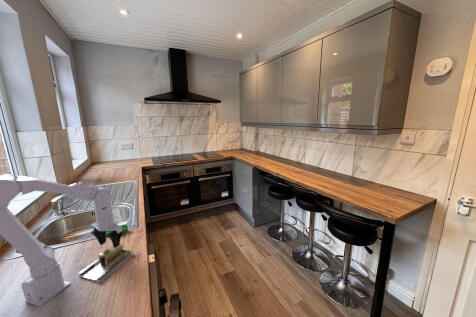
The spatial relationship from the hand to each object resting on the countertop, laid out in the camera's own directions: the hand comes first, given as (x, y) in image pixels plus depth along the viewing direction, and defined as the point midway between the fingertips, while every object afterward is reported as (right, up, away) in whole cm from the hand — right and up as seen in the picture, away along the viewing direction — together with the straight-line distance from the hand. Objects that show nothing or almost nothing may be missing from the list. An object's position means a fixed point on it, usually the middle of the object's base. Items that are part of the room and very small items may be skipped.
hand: (110, 244), depth 82 cm
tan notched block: (0, -7, +1) cm, 7 cm away
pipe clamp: (-11, -4, +21) cm, 24 cm away
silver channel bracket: (0, -8, -1) cm, 8 cm away
